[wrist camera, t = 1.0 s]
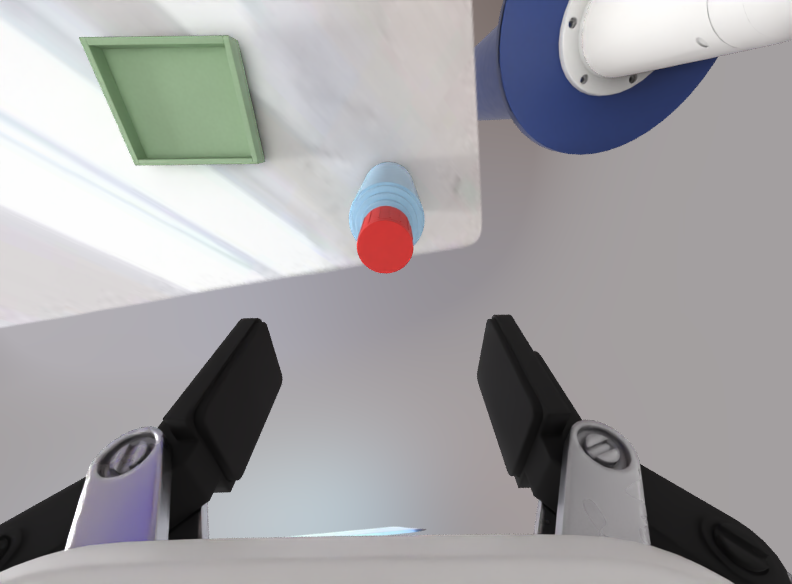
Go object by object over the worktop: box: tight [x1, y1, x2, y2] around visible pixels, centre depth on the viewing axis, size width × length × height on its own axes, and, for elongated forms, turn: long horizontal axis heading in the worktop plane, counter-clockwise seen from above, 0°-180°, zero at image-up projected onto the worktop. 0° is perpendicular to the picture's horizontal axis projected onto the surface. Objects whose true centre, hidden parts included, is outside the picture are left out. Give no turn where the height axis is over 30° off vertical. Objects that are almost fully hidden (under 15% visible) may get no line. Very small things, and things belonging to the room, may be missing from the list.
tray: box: [79, 35, 265, 165], centre depth 31 cm, size 14×11×2 cm
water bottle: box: [349, 162, 424, 246], centre depth 28 cm, size 6×6×20 cm
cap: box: [357, 206, 413, 273], centre depth 21 cm, size 4×4×4 cm
